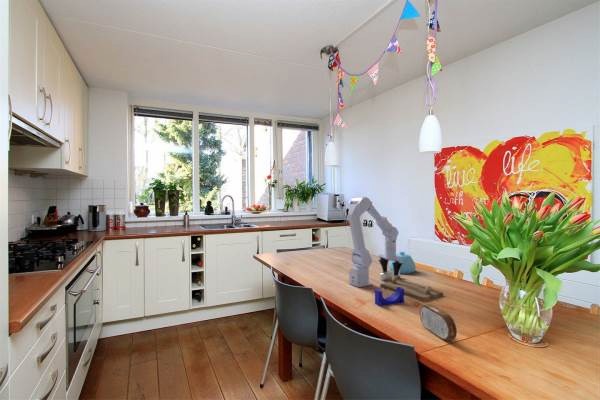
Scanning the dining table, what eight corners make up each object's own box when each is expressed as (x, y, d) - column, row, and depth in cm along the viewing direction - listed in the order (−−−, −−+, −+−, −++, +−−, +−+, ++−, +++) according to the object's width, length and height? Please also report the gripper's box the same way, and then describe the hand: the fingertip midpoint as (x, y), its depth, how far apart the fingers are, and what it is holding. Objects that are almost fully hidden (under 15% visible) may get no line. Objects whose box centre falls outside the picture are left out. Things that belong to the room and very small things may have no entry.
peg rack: (423, 301, 128) (423, 291, 128) (380, 287, 148) (380, 277, 148) (442, 295, 135) (442, 285, 135) (399, 282, 155) (399, 273, 155)
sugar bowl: (419, 274, 171) (419, 254, 171) (392, 274, 171) (392, 254, 171) (410, 268, 186) (410, 249, 186) (385, 268, 186) (385, 249, 186)
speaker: (457, 344, 91) (457, 317, 91) (448, 345, 91) (448, 318, 90) (425, 324, 106) (425, 300, 106) (418, 325, 105) (418, 300, 105)
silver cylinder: (384, 281, 157) (384, 274, 157) (378, 280, 160) (378, 272, 160) (401, 278, 164) (401, 270, 164) (396, 276, 167) (396, 269, 167)
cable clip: (397, 299, 131) (397, 285, 131) (404, 303, 126) (404, 289, 126) (373, 302, 127) (372, 288, 127) (378, 306, 123) (378, 291, 123)
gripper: (406, 249, 158) (406, 275, 158) (385, 246, 170) (385, 270, 170) (397, 251, 154) (397, 277, 154) (376, 247, 166) (376, 271, 166)
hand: (390, 273), depth 162 cm, fingers open, 7 cm apart
